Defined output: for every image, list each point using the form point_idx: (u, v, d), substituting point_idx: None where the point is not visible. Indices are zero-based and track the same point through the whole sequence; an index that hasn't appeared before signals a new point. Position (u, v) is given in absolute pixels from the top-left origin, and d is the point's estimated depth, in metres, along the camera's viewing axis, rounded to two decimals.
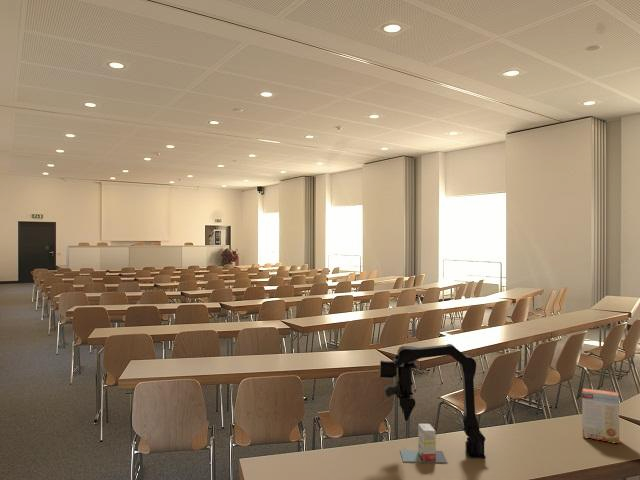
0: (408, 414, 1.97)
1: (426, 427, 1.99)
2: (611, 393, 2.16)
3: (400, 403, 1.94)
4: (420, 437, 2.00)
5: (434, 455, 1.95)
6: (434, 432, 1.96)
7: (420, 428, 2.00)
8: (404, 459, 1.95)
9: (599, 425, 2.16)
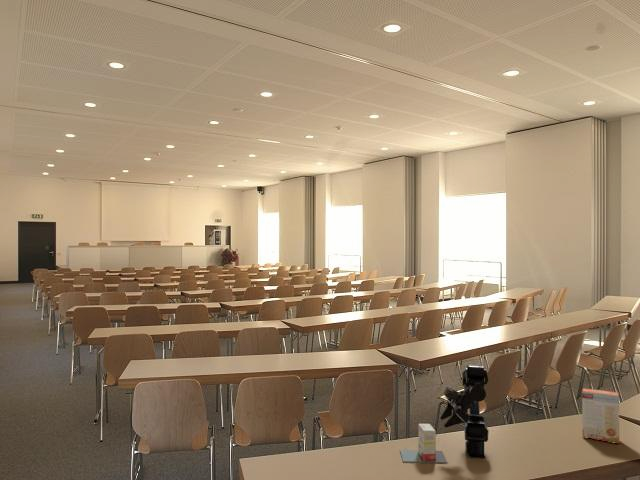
0: (451, 424, 1.93)
1: (426, 427, 1.99)
2: (611, 393, 2.16)
3: (456, 411, 1.90)
4: (420, 437, 2.00)
5: (434, 455, 1.95)
6: (434, 432, 1.96)
7: (420, 428, 2.00)
8: (404, 459, 1.95)
9: (599, 425, 2.16)
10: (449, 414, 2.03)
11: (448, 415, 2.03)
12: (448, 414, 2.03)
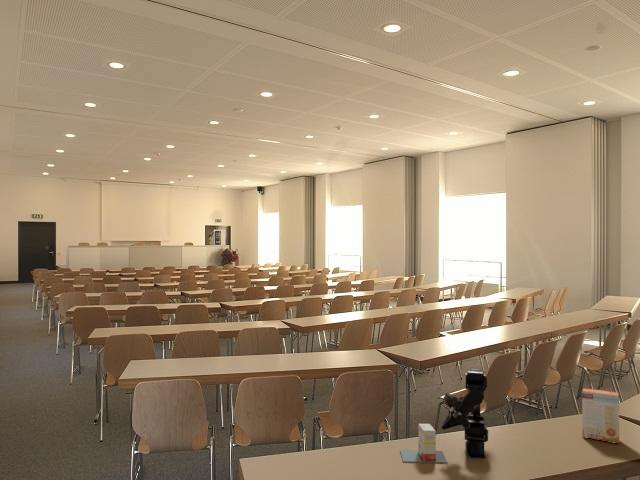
0: (449, 426, 1.98)
1: (426, 427, 1.99)
2: (611, 393, 2.16)
3: (457, 417, 1.90)
4: (420, 437, 2.00)
5: (434, 455, 1.95)
6: (434, 432, 1.96)
7: (420, 428, 2.00)
8: (404, 459, 1.95)
9: (599, 425, 2.16)
10: None
11: None
12: None
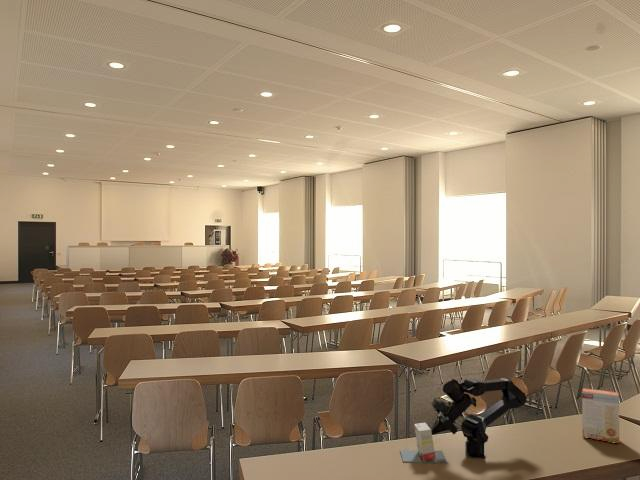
0: (437, 431, 1.98)
1: (422, 427, 1.99)
2: (611, 393, 2.16)
3: (444, 422, 1.90)
4: (417, 437, 2.00)
5: (433, 453, 1.95)
6: (430, 431, 1.95)
7: (416, 428, 2.00)
8: (404, 459, 1.95)
9: (599, 425, 2.16)
10: None
11: None
12: None
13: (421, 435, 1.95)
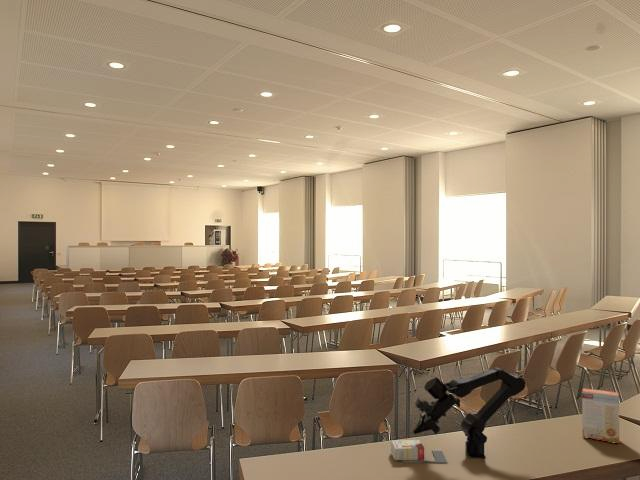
0: (420, 430, 1.98)
1: (393, 451, 1.98)
2: (611, 393, 2.16)
3: (427, 421, 1.91)
4: None
5: (419, 449, 1.95)
6: (396, 449, 1.94)
7: None
8: None
9: (599, 425, 2.16)
10: None
11: None
12: None
13: (399, 459, 1.94)
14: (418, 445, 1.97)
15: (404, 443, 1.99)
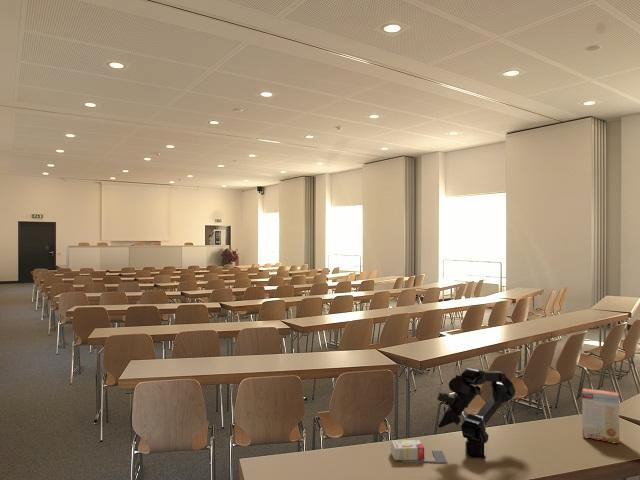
0: (444, 424, 1.99)
1: (393, 451, 1.98)
2: (611, 393, 2.16)
3: (446, 413, 1.91)
4: None
5: (419, 449, 1.95)
6: (396, 449, 1.94)
7: None
8: None
9: (599, 425, 2.16)
10: None
11: None
12: None
13: (399, 459, 1.94)
14: (418, 445, 1.97)
15: (404, 443, 1.99)
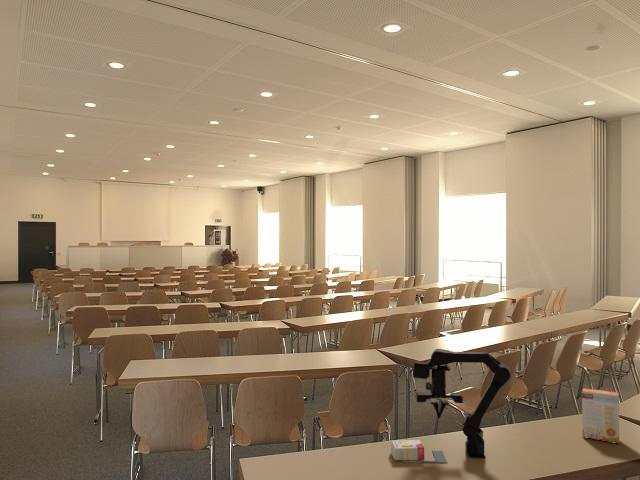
0: (436, 412, 2.05)
1: (393, 451, 1.98)
2: (611, 393, 2.16)
3: None
4: None
5: (419, 449, 1.95)
6: (396, 449, 1.94)
7: None
8: None
9: (599, 425, 2.16)
10: (439, 409, 2.05)
11: (439, 411, 2.05)
12: (439, 410, 2.05)
13: (399, 459, 1.94)
14: (418, 445, 1.97)
15: (404, 443, 1.99)
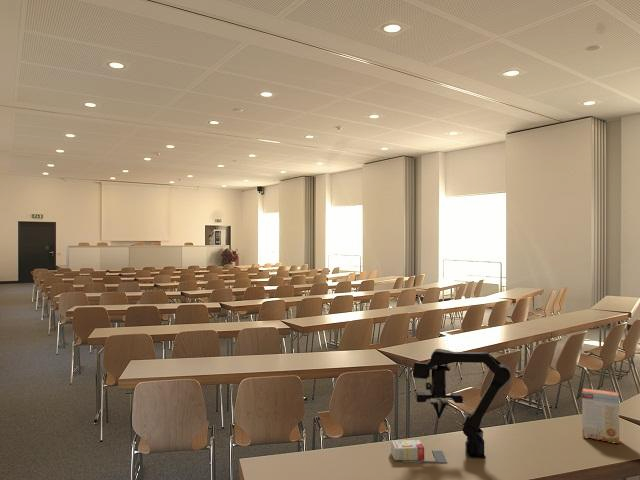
0: (436, 412, 2.05)
1: (393, 451, 1.98)
2: (611, 393, 2.16)
3: None
4: None
5: (419, 449, 1.95)
6: (396, 449, 1.94)
7: None
8: None
9: (599, 425, 2.16)
10: (439, 409, 2.05)
11: (439, 411, 2.05)
12: (439, 410, 2.05)
13: (399, 459, 1.94)
14: (418, 445, 1.97)
15: (404, 443, 1.99)
